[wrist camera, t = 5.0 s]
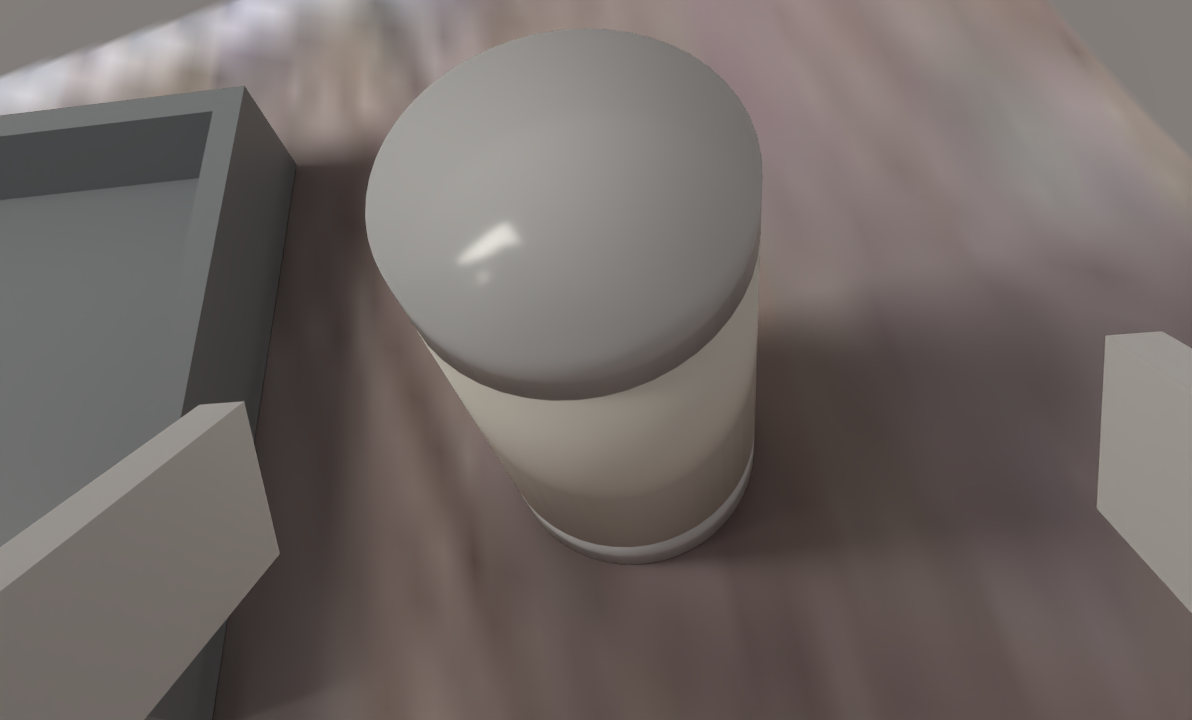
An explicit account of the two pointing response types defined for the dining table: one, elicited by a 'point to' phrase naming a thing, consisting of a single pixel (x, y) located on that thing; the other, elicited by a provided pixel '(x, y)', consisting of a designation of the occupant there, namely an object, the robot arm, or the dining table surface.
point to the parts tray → (132, 293)
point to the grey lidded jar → (587, 277)
